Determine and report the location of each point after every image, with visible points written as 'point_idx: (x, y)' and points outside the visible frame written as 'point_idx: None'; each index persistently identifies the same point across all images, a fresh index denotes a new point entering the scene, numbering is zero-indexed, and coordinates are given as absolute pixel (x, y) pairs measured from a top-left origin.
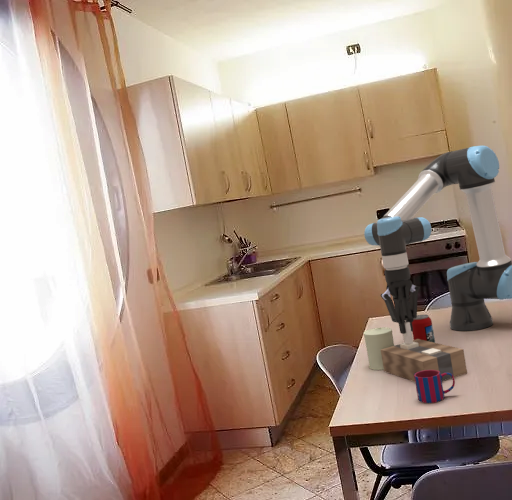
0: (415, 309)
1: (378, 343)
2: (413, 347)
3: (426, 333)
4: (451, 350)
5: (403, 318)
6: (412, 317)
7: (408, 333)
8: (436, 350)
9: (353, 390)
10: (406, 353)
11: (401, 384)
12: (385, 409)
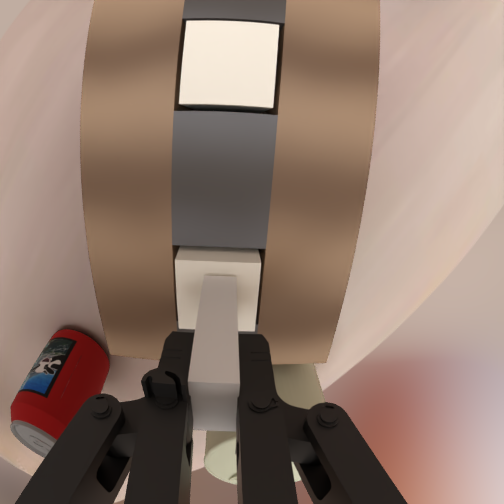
0: (65, 462)
1: (313, 399)
2: (217, 253)
3: (53, 376)
4: (141, 1)
5: (257, 430)
6: (129, 415)
7: (226, 317)
8: (205, 38)
9: (470, 227)
10: (325, 190)
11: (378, 124)
12: (500, 36)
